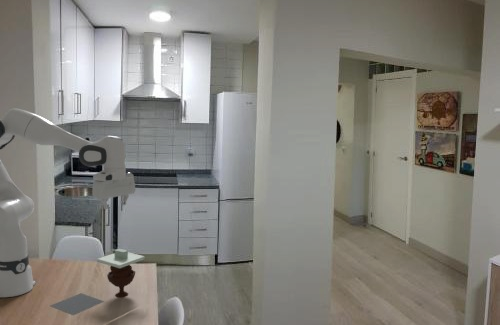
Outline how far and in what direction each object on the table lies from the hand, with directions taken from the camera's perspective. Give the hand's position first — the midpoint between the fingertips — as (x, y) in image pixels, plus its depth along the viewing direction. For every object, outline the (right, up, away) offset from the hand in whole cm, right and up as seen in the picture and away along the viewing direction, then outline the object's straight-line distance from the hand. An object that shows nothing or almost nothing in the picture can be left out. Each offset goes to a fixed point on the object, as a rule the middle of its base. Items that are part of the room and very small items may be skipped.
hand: (115, 206), depth 176 cm
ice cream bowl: (+4, -36, -5) cm, 37 cm away
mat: (-10, -37, -14) cm, 40 cm away
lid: (+5, -21, -7) cm, 23 cm away
